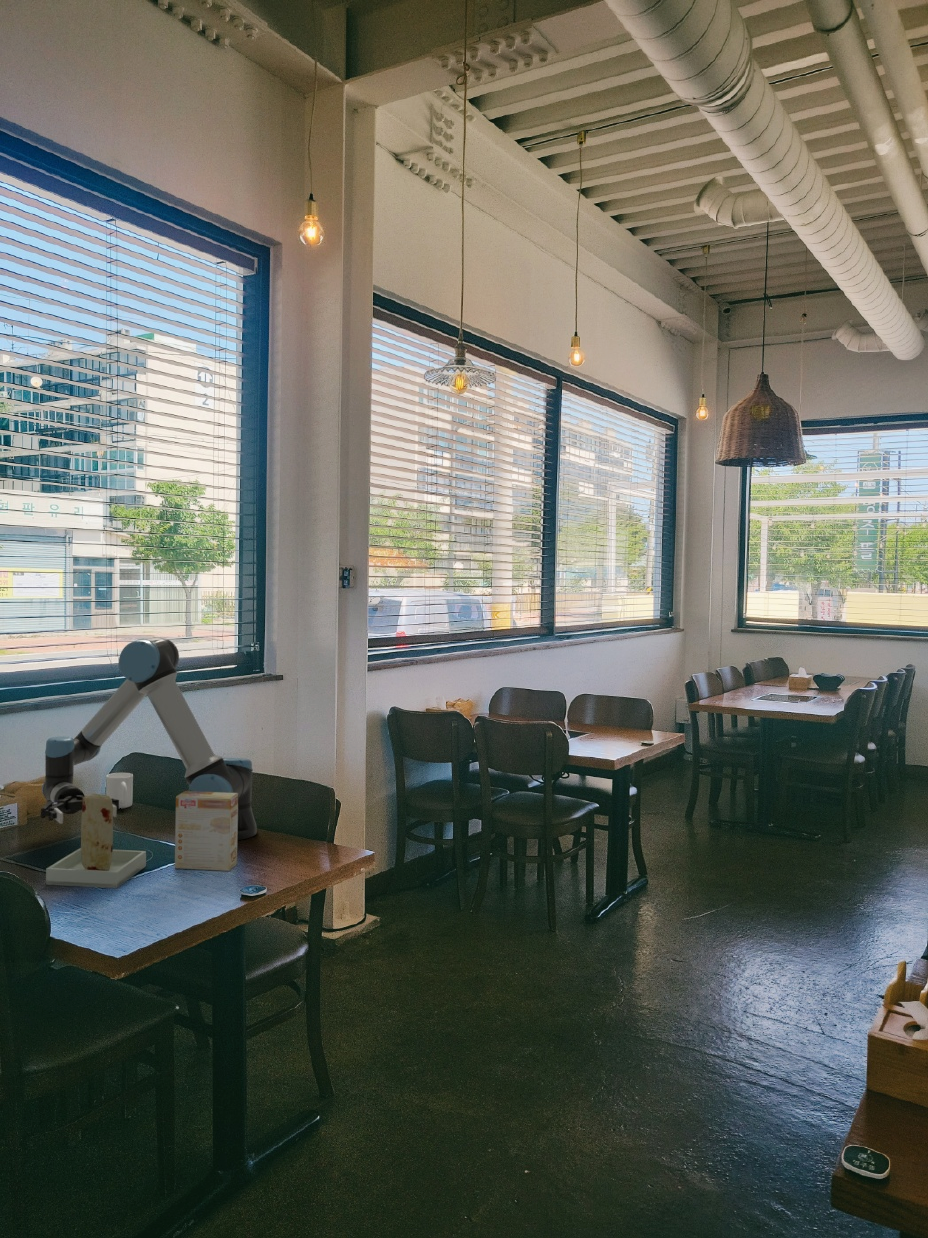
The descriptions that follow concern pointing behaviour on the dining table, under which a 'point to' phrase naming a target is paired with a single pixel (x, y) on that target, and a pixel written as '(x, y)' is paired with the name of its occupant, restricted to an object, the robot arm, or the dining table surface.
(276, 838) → the dining table surface
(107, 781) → the mug
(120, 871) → the bin
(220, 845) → the coffeecake box
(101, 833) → the food model
